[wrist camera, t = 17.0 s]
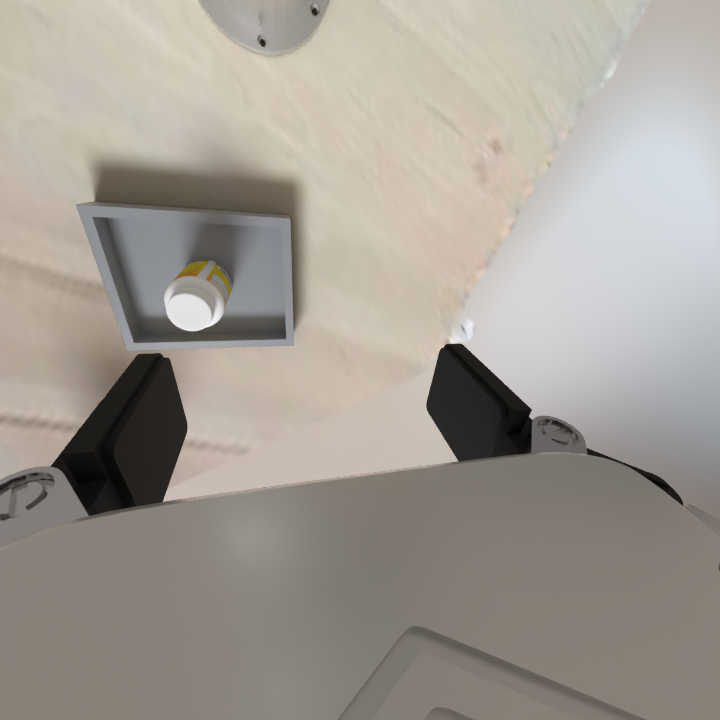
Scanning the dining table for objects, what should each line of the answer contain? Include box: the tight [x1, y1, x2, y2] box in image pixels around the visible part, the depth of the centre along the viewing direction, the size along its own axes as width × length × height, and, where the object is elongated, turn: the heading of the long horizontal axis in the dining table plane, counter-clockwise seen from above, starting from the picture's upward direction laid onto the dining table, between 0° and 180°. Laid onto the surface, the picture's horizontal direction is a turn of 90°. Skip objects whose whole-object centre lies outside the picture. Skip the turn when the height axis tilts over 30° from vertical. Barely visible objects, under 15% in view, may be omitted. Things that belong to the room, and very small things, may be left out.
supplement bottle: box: [164, 259, 232, 331], centre depth 33 cm, size 6×6×10 cm
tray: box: [76, 202, 294, 351], centre depth 37 cm, size 16×20×4 cm
